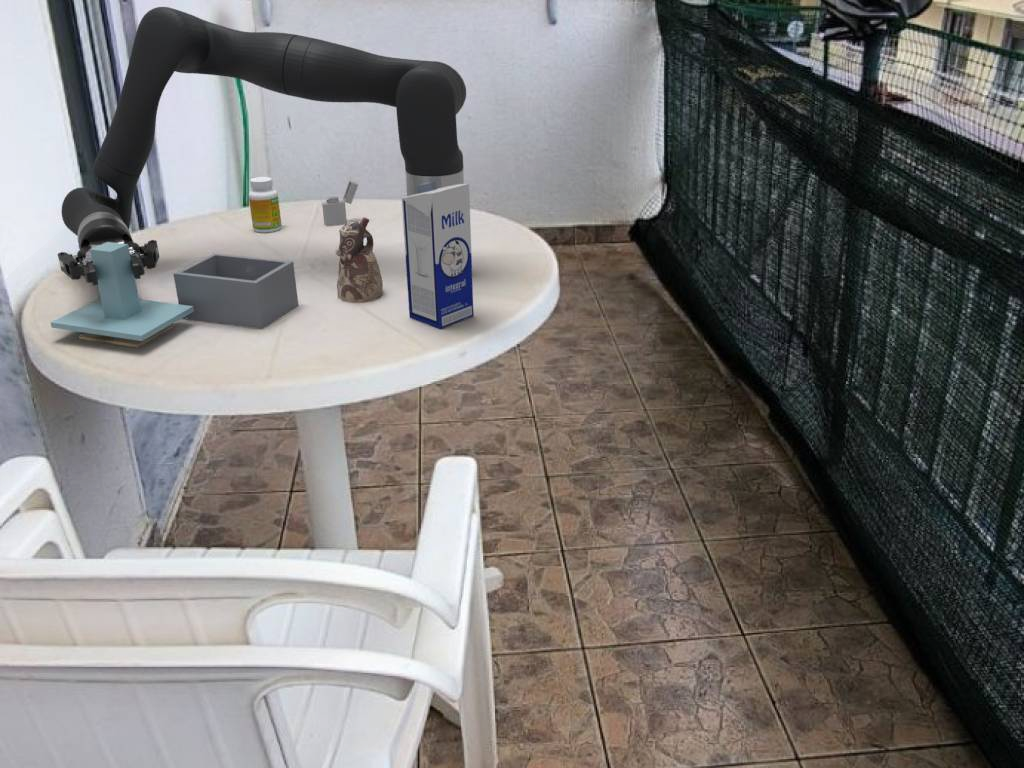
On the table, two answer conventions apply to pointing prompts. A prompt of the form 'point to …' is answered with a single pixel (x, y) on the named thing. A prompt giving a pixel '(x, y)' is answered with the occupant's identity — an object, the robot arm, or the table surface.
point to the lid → (120, 301)
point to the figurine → (357, 264)
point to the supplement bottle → (264, 205)
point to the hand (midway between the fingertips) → (115, 275)
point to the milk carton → (438, 254)
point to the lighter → (338, 206)
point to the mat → (120, 340)
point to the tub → (237, 289)
